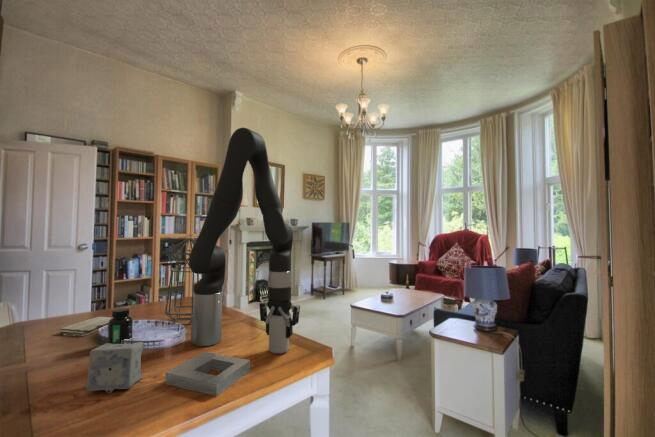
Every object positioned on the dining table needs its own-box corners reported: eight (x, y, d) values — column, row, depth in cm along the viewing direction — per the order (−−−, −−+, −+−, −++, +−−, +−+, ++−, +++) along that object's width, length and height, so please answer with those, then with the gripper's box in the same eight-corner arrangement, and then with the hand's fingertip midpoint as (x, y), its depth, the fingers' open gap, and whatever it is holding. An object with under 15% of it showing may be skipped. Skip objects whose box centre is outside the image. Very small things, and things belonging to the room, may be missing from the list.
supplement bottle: (118, 351, 101) (118, 313, 101) (102, 348, 103) (103, 311, 104) (137, 343, 108) (137, 308, 108) (122, 340, 110) (122, 306, 110)
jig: (165, 384, 81) (165, 372, 81) (204, 361, 94) (204, 351, 94) (216, 396, 75) (216, 383, 76) (250, 370, 89) (250, 360, 89)
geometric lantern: (173, 316, 138) (176, 236, 139) (210, 316, 140) (213, 237, 141) (157, 328, 122) (162, 238, 123) (199, 328, 124) (203, 239, 125)
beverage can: (284, 356, 99) (285, 317, 99) (265, 354, 100) (266, 316, 100) (291, 348, 105) (291, 311, 105) (273, 346, 106) (273, 310, 106)
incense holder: (143, 376, 85) (144, 337, 85) (129, 393, 77) (130, 350, 77) (103, 379, 83) (104, 339, 83) (84, 396, 75) (85, 352, 75)
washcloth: (55, 336, 114) (55, 328, 115) (99, 321, 132) (99, 314, 132) (83, 338, 112) (83, 330, 113) (124, 323, 130) (124, 315, 130)
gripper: (254, 284, 102) (253, 337, 101) (294, 288, 97) (293, 343, 96) (266, 280, 109) (265, 329, 108) (304, 284, 104) (304, 335, 103)
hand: (279, 335), depth 102 cm, fingers closed on beverage can, 6 cm apart
